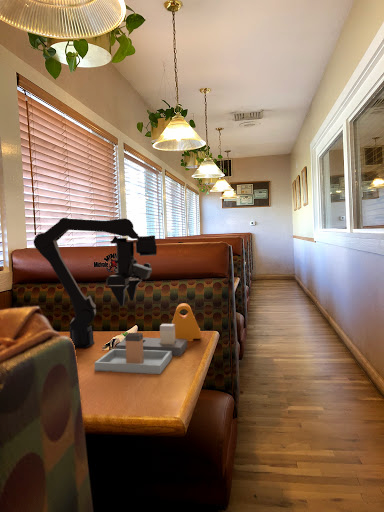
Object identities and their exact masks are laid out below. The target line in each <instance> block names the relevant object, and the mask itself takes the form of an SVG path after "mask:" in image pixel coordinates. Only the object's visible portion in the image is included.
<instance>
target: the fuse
mask: <svg viewBox="0 0 384 512" xmlns="http://www.w3.org/2000/svg"><path fill="white" fill-rule="evenodd" d="M159 335H160V336H159V338H160V344H172V345H174V344H175V324H172V323H161V325H159Z"/></svg>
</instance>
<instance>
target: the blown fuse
mask: <svg viewBox="0 0 384 512" xmlns="http://www.w3.org/2000/svg"><path fill="white" fill-rule="evenodd" d="M124 337H125V338H124V339H125V343H126V363H138V364H142V363H143V362H144V357H143V338H144V334H143V332H129V333H126V334H125V336H124Z"/></svg>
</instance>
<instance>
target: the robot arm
mask: <svg viewBox="0 0 384 512" xmlns="http://www.w3.org/2000/svg"><path fill="white" fill-rule="evenodd" d="M69 231H81V232H82V231H83V232H84V231H85V232H86V231H87V232H101V233H102V232H103V233H108V234H111V235H112V234H113V235H115V236H113V238H112V239H111V241H110V244H115V247H116V248H115V249H116V259H115V260H114V264H116V271H115V273H114V274H112V275H109V276H108V277H107V278H106V286H108V288H110V290H111V292H112V294H113V295H114V296H115V299H116V301H117V303H118V304H119V306H120V307H124V304H125V295H126V291H127V295H128V298H129V300H130V302H131V301H132V302H133V301H135V298H136V297H135V296H136V292H137V288H138V285H139V284H140V283H142V282H143V280H147V279H150V277H151V274H152V273H153V269H152V265H151V263H148V262H146V263H144V264H139V263H138V260H137V259H136V258H135V254H138V255H139V257H148V256H149V257H150V256H153V257H154V256H157V254H158V253H157V251H158V250H157V249H158V247H157V243H156V242H157V241H156V236H155V235H148V236H147V235H145V236H144V235H143V236H142V235H141V236H140V235H139V234H138V233H137V232H136V231H135V229H134V224H133V222H132V221H131V220H130V219H129V218H117V219H115V218H114V219H109V220H108V219H107V220H98V219H97V220H96V219H83V218H82V219H81V218H79V219H77V218H68V217H62V218H60V219H59V220H58V222H56V223H55V224H53V225H52V226H51V227H50V228H49V229H47V230H46V231H45V232H41V233H40V232H39V233H38V234H37V235H36V236H35V237H34V239H33V245H34V248H35V249H36V250H37V251H38V252H39V254H41V256H42V257H43V258H44V259H45V260H46V261H47V262H48V263H49V264H50V267H51V268H52V269H53V271H54V273H55V274H56V276H57V278H58V280H59V281H60V283H61V285H62V286H63V288H64V290H65V292H66V293H67V295H68V297H69V299H70V300H71V301H70V302H71V304H72V307H73V311H74V314H75V316H74V317H72V319H71V321H70V323H69V339H70V338H71V339H72V341H73V343H74V345H75V348H77V349H87V348H89V347H91V346H92V345H93V344H95V340H94V330H93V328H92V327H93V326H92V325H90V323H92V322H93V321H94V319H95V316H96V313H97V309H96V307H97V305H96V304H95V303H94V301H93V299H92V296H91V295H88V296H86V295H85V294H84V293H83V292H82V290H81V289H80V287H79V284H78V283H77V282H76V280H75V278H74V277H73V274H72V273H71V271H70V269H69V268H68V266H67V264H66V263H65V261H64V259H63V257H62V255H61V251H60V247H59V244H58V241H59V240H60V239H62V237H63V236H65V235H66V233H67V232H69ZM117 236H121V237H117ZM127 237H128V238H130V239H133V240H128V239H127ZM134 246H135V248H134ZM75 348H74V349H75Z"/></svg>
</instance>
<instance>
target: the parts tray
mask: <svg viewBox="0 0 384 512" xmlns="http://www.w3.org/2000/svg"><path fill="white" fill-rule="evenodd" d="M143 357H144V362H143V363H142V364H138V363H126V349H116V348H112V349H110V350H109V351H108V352H107V353H105V354H104V355H103V356H101V357H100V358H99V359H97V360H96V361H95V362H94V371H95V372H109V371H112V373H113V372H114V373H117V372H118V373H129V374H130V373H131V374H151V375H160V374H161V373H162V372H163V371H164V370H165V368H166V367H167V366H168V365H169V363H170V362H171V360H172V359H173V356H172V351H159V350H143Z"/></svg>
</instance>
